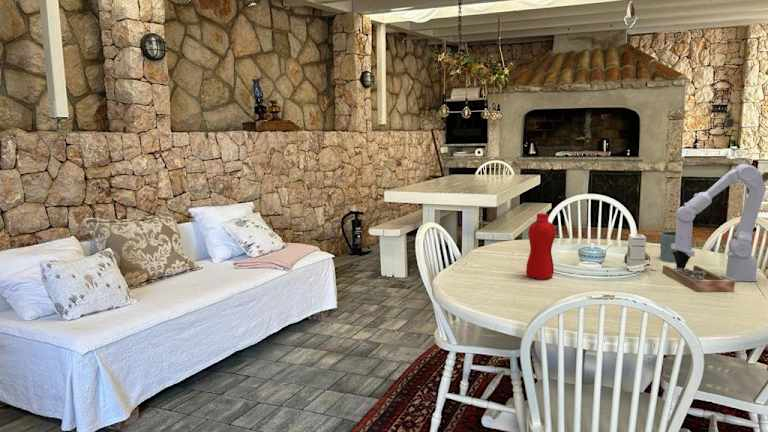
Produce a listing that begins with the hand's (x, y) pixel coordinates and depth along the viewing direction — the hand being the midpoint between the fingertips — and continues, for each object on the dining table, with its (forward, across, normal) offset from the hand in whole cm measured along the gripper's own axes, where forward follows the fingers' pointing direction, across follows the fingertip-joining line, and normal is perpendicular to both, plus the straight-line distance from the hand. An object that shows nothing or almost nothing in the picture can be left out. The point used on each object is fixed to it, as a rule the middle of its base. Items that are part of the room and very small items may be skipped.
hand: (680, 269), depth 225 cm
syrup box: (+2, -5, -16) cm, 17 cm away
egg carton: (+2, +7, 0) cm, 8 cm away
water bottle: (+2, +6, -57) cm, 57 cm away
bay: (+1, +11, 0) cm, 11 cm away
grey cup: (+2, -22, +7) cm, 23 cm away
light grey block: (+2, -17, -10) cm, 20 cm away
